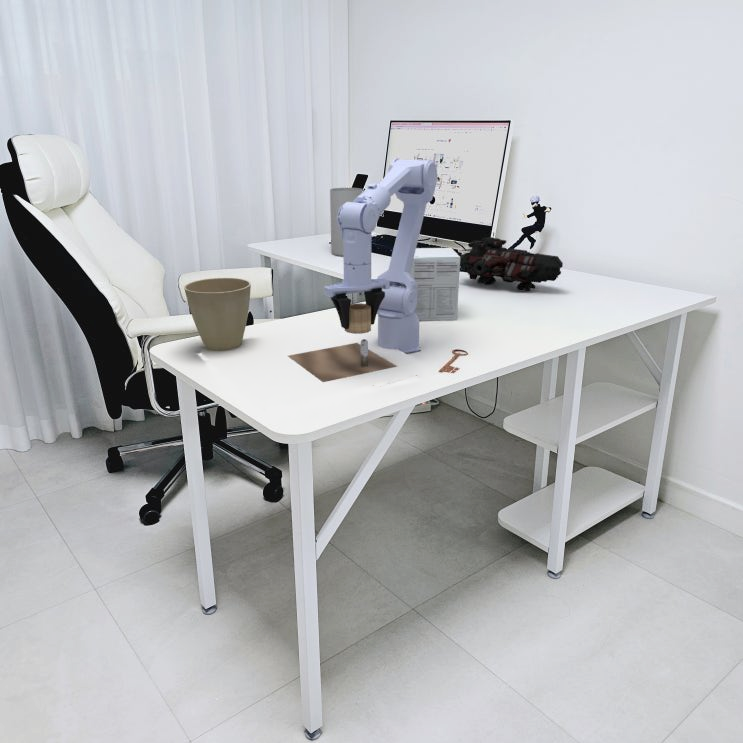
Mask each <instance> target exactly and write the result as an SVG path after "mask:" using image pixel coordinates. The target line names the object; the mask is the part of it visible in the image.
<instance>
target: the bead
mask: <svg viewBox="0 0 743 743" xmlns="http://www.w3.org/2000/svg"><path fill="white" fill-rule="evenodd" d="M344 332H345V333H348V334H353V335H354V334H355V335H357V334H360V335H362V334H367V333H369V332H372V325H371V306H370V305H368V304H366V303H360V302H359V303H358V302H357V303H351V304H350V309H349V329H344Z"/></svg>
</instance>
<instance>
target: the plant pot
mask: <svg viewBox="0 0 743 743" xmlns="http://www.w3.org/2000/svg"><path fill="white" fill-rule="evenodd" d="M251 286H252V283H251V281H249V280H247V279H244V278H239V277H214V278H213V277H212V278H203V279H199V280H194V281H191V282H188V283H185V285H184V287H183V288H184V293H185V296H186V300H187V303H188V304H187V305H188V307H189V312H190V314H191V316H192V320H193V322H194V325H195V328H196V330H197V333H198V335H199V337H200V339H201V341H202V343H203V345H204V347H205V348H206V349H208V350H211V351H217V352H218V351H220V352H221V351H228V350H229V351H230V350H234V349H237V348H239V347H240V346H241V345H242V342H243V338H244V335H245V330H246V327H247V321H248V315H249V311H250V303H251V302H250V300H251Z"/></svg>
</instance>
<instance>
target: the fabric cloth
mask: <svg viewBox="0 0 743 743" xmlns="http://www.w3.org/2000/svg"><path fill="white" fill-rule="evenodd" d="M287 357H288V358H290V359H291V360H292V361H293V362H295V363H296V364H298V365H299V366H301V367H302V368H303V369H304V370H306V371H307V372H308V373H310V374H311V375H313V376H314V377H315V378H317V379H318V380H319V381H320V382H322V383H325V382H331V381H336V380H339V379H340V380H341V379H344V378H345V379H346V378H350V377H353V376H358V375H359V376H360V375H365V374H368V373H373V372H377V371H383V370H386V369H392V368H396V367H398V365H397V364H396V363H393V362H391V361H390V360H387V359H386V358H384V357H383V356H381V355H379V354H377V353H375V352H374V351H372V350H370V349H369V348H368V366H367V367H362V366H361V343H359V342H353V343H349V344H343V345H338V346H334V347H327V348H321V349H316V350H311V351H306V352H300V353H295V354H290V355H287Z"/></svg>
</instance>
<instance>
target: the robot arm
mask: <svg viewBox="0 0 743 743" xmlns="http://www.w3.org/2000/svg"><path fill="white" fill-rule="evenodd" d="M437 168H438V167H437V165H436V163H435V161H434V160H433V159H426V160H425V159H406V158H405V159H404V158H402V159H401V158H397V157H395V158H394V159H393V160H392V161H391V162H390V163H389V164H388V170H387V174H385V176H384V177H383V179H382V180H381V181H380V182H379V183H369V184H368V185H367V188H366V189H365V190H363V192H362V193H361V194H360V195H359V196H358V197H357V198H356V199H355V200H354V201H353V202H346V203H345V204H343V205H342V206H341V207H340V209H339V212H338V217H337V224H338V227H339V229H340V237H341V239H343V256H344V257H343V281H341V282H338V283H335V284H331V285H325V286H324V287H323V288H324V289H323V291H324V296H325V297H327V298H329V299H330V300H331V301H332V304H333V306H334V308H335V310H336V311H337V316H338V318H339V321H340V326H341V328H342V329H344V330H345V329H349V309H350V304H352V299H351V298H348V295H349V294H356V293H363V294H364V298H365V300H364V301H365V304H368V305H370V306H371V326H372V325H375V323H376V318H377V346H378V347H380V348H382V349H386V350H387V349H388V350H398V351H400V352H402V353H404V354H408V353H409V354H410V353H413V352H418V351H421V347H420V326H421V325H420V321H419V319H418V316H417V315H416V313H415V312H413V311H414V310H415V308H416V305H417V292H418V285H417V283H416V281H415V280H414V279H413V278H412V277H411V276H410V271H411V267H412V263H413V259H414V255H415V250H416V248H417V246H418V241H419V237H420V233H421V230H422V224H423V221H424V216H425V213H426V208H427V204H428V203H430V202H431V201H432V200H433V198H434V195H435V191H436V186H437V181H438V177H439V176H438V169H437ZM394 195H395V196H396V198H397V199H398V200H399V201H400V202H402V203H403V208H402V212H401V217H400V220H399V223H398V224H399V226H398V229H397V233H396V236H395V237H396V238H395V242H394V246H393V249H392V253H391V258H390V262H389V265H388V269H387V270H385V271H384V272H382V273H380V274H379V275H378V276H377V277H376V278H372V232H373V231H375V229H376V226H377V223H378V220H380V215H381V214H382V213H383V212H384V211H385V210H387V208H388V207H389V206H390V204H391V199H392V198H391V197H392V196H394Z"/></svg>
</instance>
